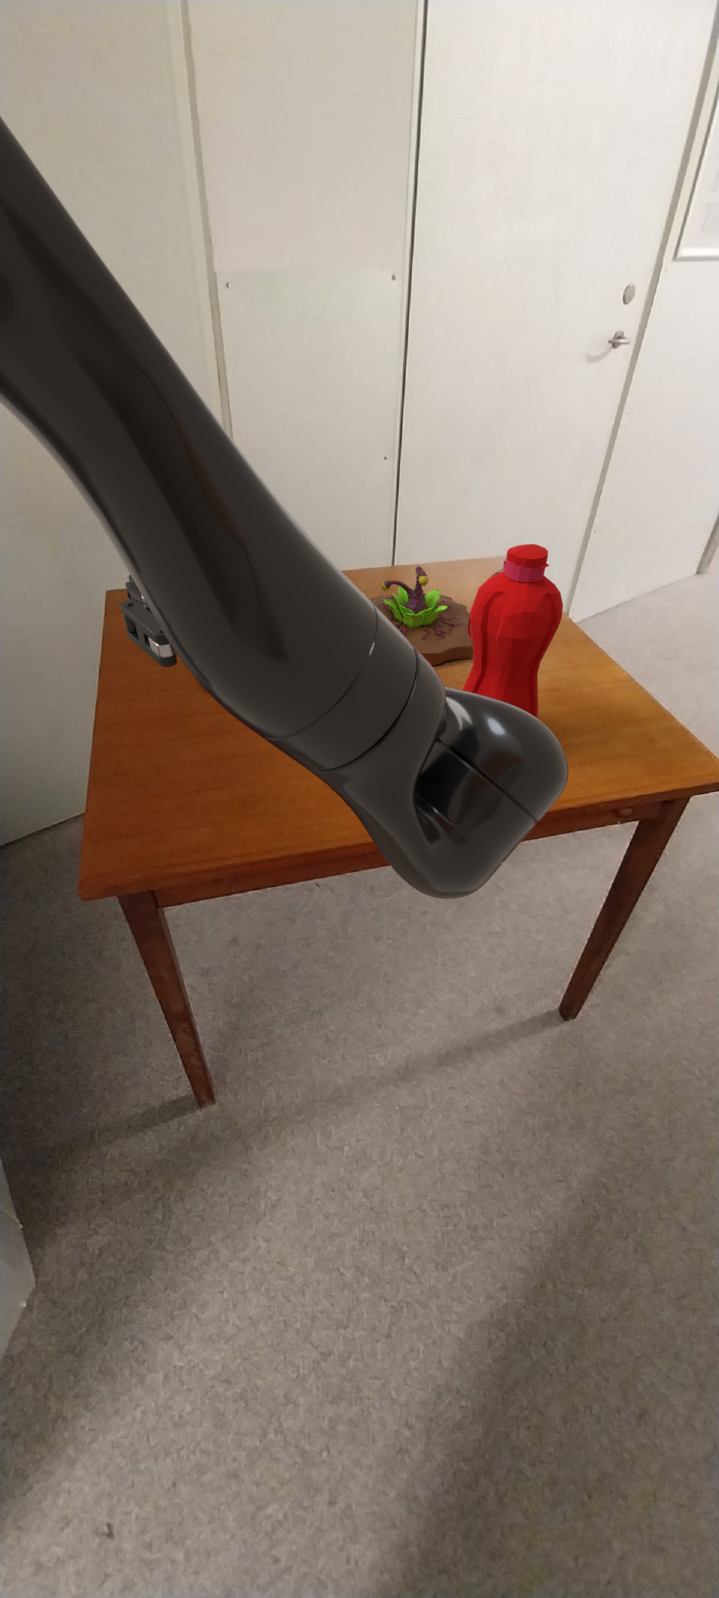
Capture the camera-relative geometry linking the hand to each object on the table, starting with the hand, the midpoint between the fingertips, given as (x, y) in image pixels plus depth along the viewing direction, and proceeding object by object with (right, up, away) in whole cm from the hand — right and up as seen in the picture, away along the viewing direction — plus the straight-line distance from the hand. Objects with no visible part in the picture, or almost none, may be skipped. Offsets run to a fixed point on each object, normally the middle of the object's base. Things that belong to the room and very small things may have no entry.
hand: (185, 572), depth 53 cm
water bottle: (+31, -9, +35) cm, 48 cm away
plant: (+23, +8, +54) cm, 59 cm away
